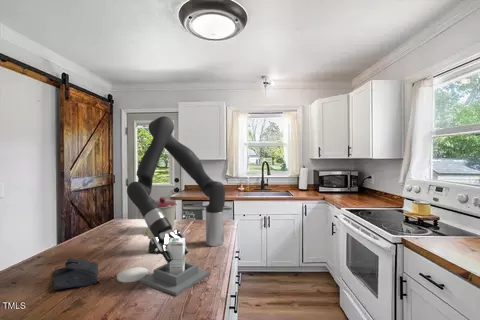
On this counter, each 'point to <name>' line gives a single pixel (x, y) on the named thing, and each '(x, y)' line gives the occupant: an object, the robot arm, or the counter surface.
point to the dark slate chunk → (76, 274)
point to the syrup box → (176, 255)
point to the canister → (168, 209)
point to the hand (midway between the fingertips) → (179, 257)
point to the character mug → (149, 238)
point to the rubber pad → (132, 275)
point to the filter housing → (175, 278)
